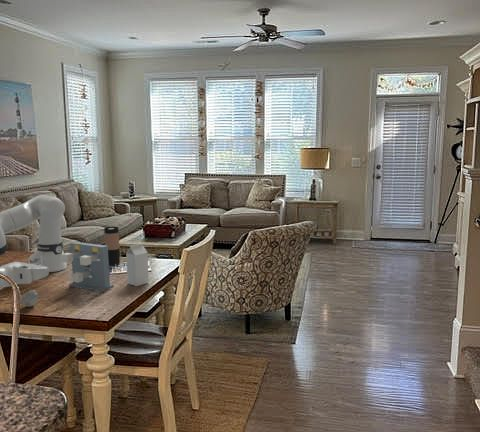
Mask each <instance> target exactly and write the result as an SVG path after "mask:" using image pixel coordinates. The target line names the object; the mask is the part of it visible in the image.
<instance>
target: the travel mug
mask: <svg viewBox="0 0 480 432" xmlns="http://www.w3.org/2000/svg"><path fill="white" fill-rule="evenodd" d="M103 231H104V234H103V235H104V245H105V246H108V260H109V266H115V265H114V264H118V265H119V263H120V261H121V259H120V258H121V257H120V256H121V255H120V253H121V252H120V251H121V249H120V235H119V227H117V226H106V227H104V229H103Z"/></svg>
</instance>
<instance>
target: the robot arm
mask: <svg viewBox="0 0 480 432" xmlns="http://www.w3.org/2000/svg"><path fill="white" fill-rule="evenodd" d="M65 211H66V205H65V203H64V202H63V201H62V200H61V199H60V198H59V197H55V196H53V195H46V194H39V195H37V196H34V197H32V198H31V199H29V200H27V201H25V202H24V203H21V204H19V205H16V206H13V207H10V208H8V209H5V210H2V211H0V256H2V255H4V254H5V253H6V252H8V249H9V244H8V241H7V239H6V234H10V233H14V232H16V231H17V230H20V229H23V228H26V227H28V226H30V225H32V224H33V223H34V222H36V221H37V220H39V219H40V221H39V226H38V228H37V233H38V234H37V235H38V243H37V244H35V248H36V251H35V252H33V253H32V254H31V255H30V256H29V257H28V263H27V262H22V261H13V262H9V263H6V264H2V265H1V266H0V273H2V274H3V275H5V276H8V277H10V278H11V279H12V280H13V281H14V282H15V283H16V284H17V285H30V284H32V282H34V281H38V280H40V279H44V278H46V277H48V276H49V275H50V274H49V273H55V272H59V271H62V270H65V269H67V267H68V266H67V265H68V263H66V262H62V254H64V253H65V252H64V250H63V249H64V244H63V241H62V221H63V215H64V213H65ZM7 287H9V288H10V287H11V285H10V284H9V283H8V282H7V281H5V280H4V279H2V278H0V290H2V289H5V288H7Z"/></svg>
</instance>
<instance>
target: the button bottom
mask: <svg viewBox="0 0 480 432" xmlns="http://www.w3.org/2000/svg"><path fill="white" fill-rule="evenodd" d="M89 276H91V270H88V271H85V272H82V273H79V272H76V273H73V274H72V273H71V281H72V282H78V283H79V282H81V281H83V279H84V278H86V277H89ZM72 282H71V283H72Z"/></svg>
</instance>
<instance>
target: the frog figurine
mask: <svg viewBox="0 0 480 432" xmlns="http://www.w3.org/2000/svg"><path fill="white" fill-rule="evenodd" d="M38 298H39V293H37V292H36V289H32V290H30V289H29V290H28V291H26V292H25V293H23V294H22V295H21V299H20V300H21V302H22V303H23V305H24V306H25V307H26V308H31V307H34V305H36V303H37V299H38Z"/></svg>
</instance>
